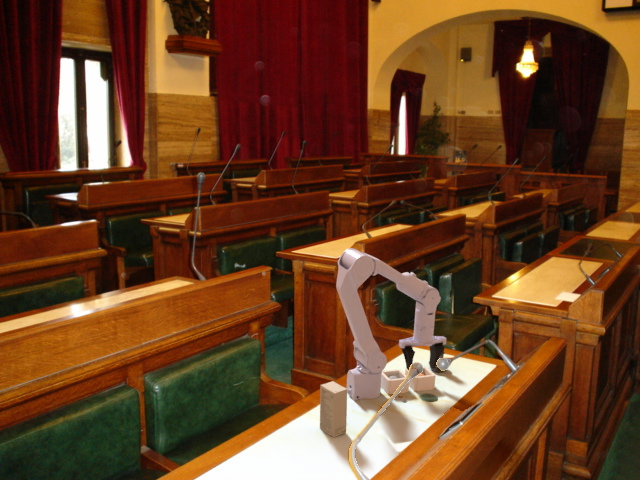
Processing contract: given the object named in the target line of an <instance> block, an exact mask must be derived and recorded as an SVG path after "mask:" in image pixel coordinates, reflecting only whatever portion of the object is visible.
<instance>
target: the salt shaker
mask: <svg viewBox="0 0 640 480" xmlns="http://www.w3.org/2000/svg"><path fill="white" fill-rule="evenodd" d="M443 346H444V347H445V345H443ZM445 354H446V352H445V350H444V351H443V352H442V354H441V355H440V357H439V358H443V359H444V356H445ZM428 365H430V360H429V361H428ZM429 368H430V371H431V372H432V371H433V372H435V373H442V372H444V371H441V370H440V369H439V368H438V367H437V365H436V366H435V368H434V369H433V368H432V367H430V366H429Z"/></svg>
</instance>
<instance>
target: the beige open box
mask: <svg viewBox="0 0 640 480" xmlns="http://www.w3.org/2000/svg"><path fill="white" fill-rule="evenodd" d="M422 367H423V372H422V374H424V375H425V376H417V377H414V378H413V379H411V380H410V381H409V388H410V389H411V390H412V391H413V392H421V391H422V392H424V391H431V390H434V389H435V385H436V374H435V373H433V372H432V370H431V369H429V368H428V367H426V366H422ZM408 372H409V370H408V369H407V368H405V371H404V374H405V375H406V376H407V374H408Z"/></svg>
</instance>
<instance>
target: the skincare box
mask: <svg viewBox="0 0 640 480" xmlns="http://www.w3.org/2000/svg"><path fill="white" fill-rule="evenodd" d="M319 399H320V400H319V401H320V402H319V403H320V404H319V428H320V429H321V430H322V431H324V432H325V433H326V434H328V435H330V437H331V436H332V437H333V438H335V437H338V436H340V435H343V434H346V433H347V414H348V413H347V411H348V393H347V387H345V386H342V385H341V384H339V383H337V382H335V381H334V380H332V381H329V382H325V383H322V384H320V397H319Z"/></svg>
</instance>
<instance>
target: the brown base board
mask: <svg viewBox="0 0 640 480" xmlns="http://www.w3.org/2000/svg"><path fill="white" fill-rule="evenodd" d="M397 398H398V399H403V395H402V396H401V395H398V396H397ZM419 399H420V400H422V401H424V402H427V403H434V402H437V401H438V400H439V397H438V396H437V395H435V394H432V393H422V394H420V395H419ZM401 402H402V403H405V404H406V403H407V402H408V401H407V400H406V399H403V400H401Z"/></svg>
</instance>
